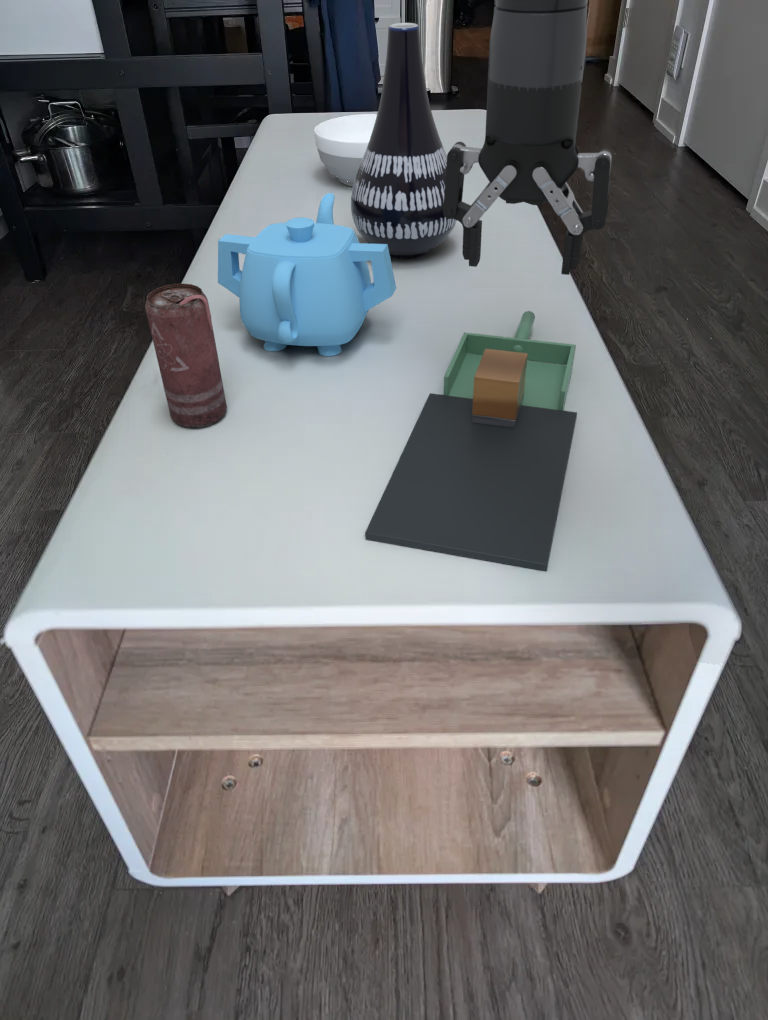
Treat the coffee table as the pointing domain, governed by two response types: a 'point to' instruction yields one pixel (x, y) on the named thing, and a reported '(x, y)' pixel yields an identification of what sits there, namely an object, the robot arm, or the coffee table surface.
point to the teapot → (305, 281)
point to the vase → (402, 159)
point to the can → (186, 354)
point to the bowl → (344, 144)
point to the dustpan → (542, 379)
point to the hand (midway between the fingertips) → (519, 267)
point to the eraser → (499, 388)
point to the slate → (478, 484)
